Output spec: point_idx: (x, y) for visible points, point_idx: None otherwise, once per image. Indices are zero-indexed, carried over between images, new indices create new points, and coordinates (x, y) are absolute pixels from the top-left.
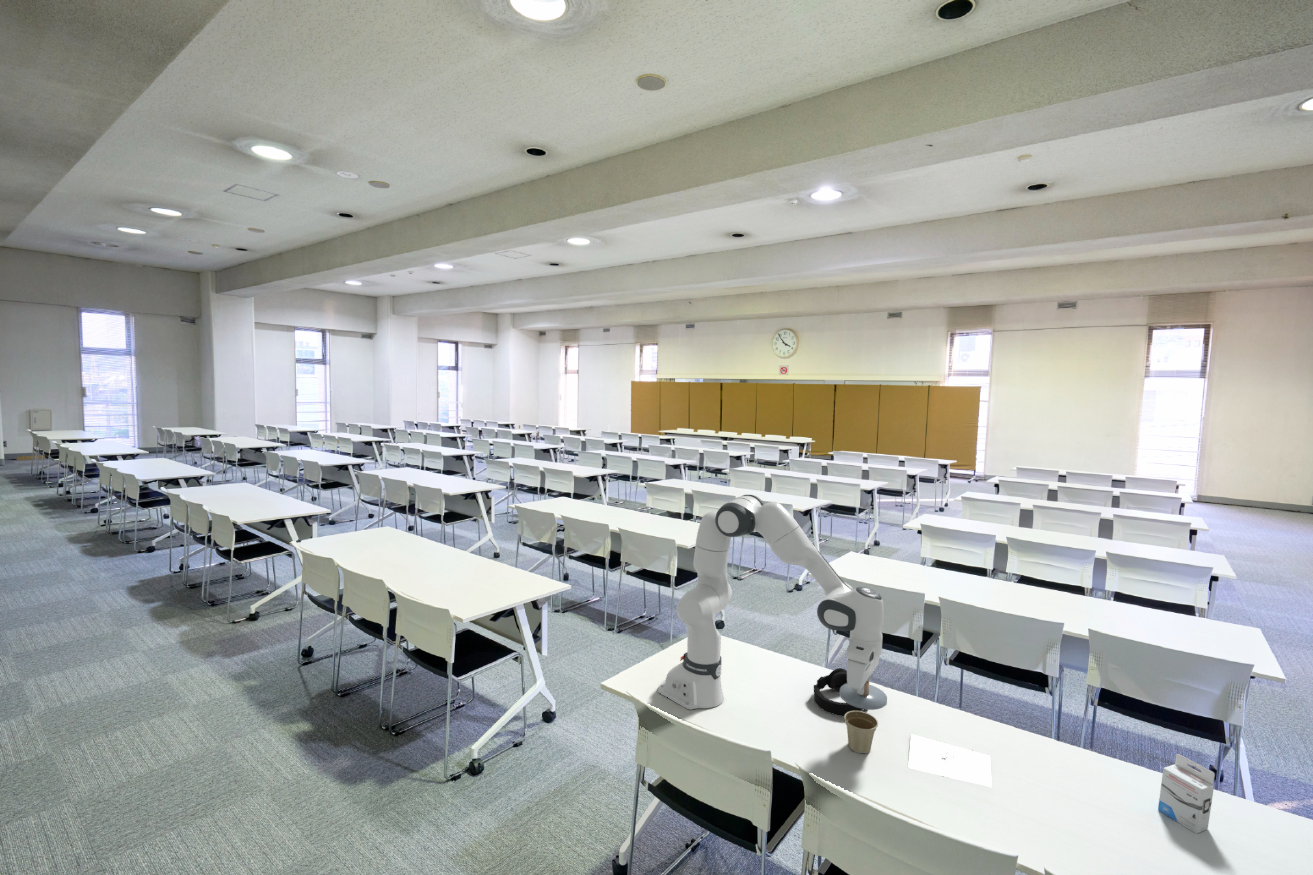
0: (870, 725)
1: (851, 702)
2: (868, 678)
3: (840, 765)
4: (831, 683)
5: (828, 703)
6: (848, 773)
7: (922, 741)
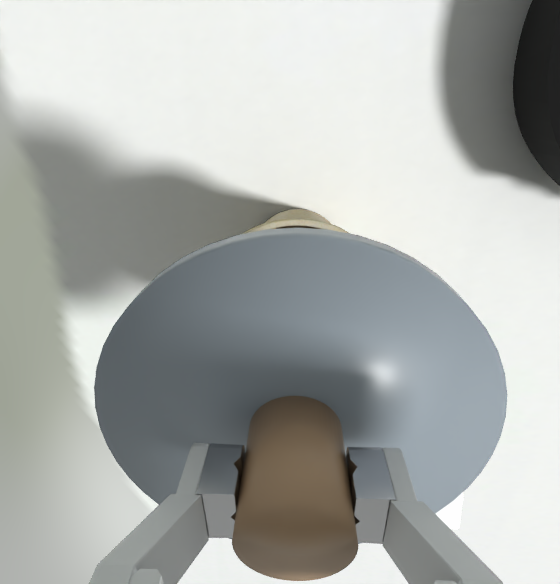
0: None
1: (98, 388)
2: (408, 573)
3: (137, 225)
4: None
5: (554, 2)
6: (117, 262)
7: None
